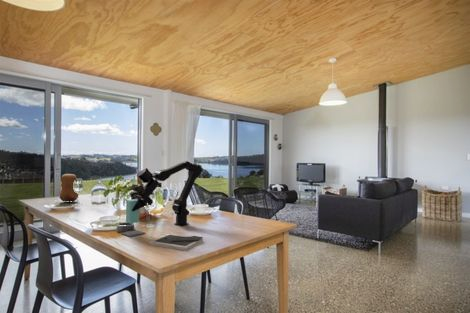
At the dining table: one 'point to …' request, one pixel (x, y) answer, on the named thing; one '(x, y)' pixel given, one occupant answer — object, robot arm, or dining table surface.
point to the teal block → (131, 215)
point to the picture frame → (177, 241)
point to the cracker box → (142, 211)
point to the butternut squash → (68, 188)
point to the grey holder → (125, 227)
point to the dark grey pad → (133, 233)
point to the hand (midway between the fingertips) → (130, 210)
